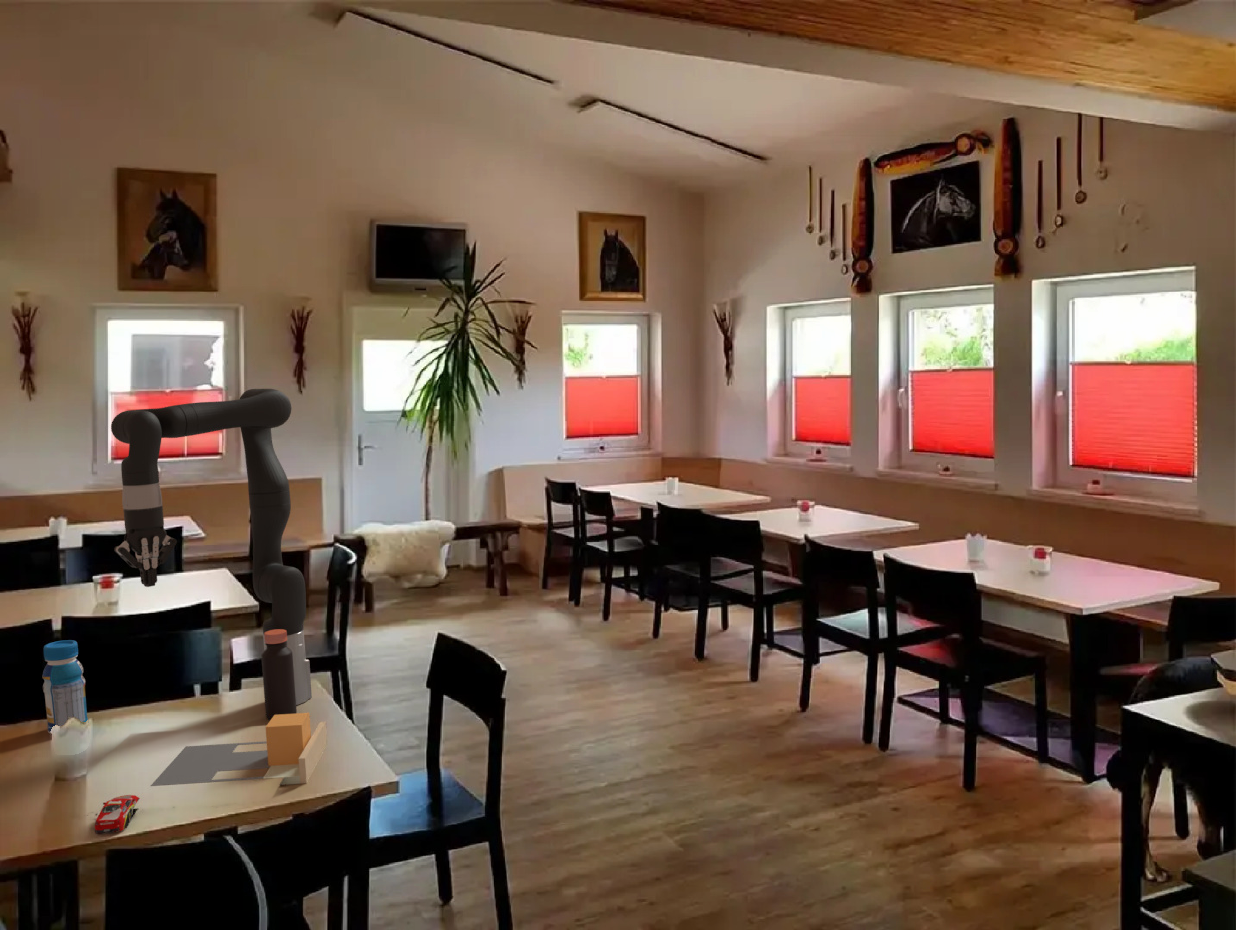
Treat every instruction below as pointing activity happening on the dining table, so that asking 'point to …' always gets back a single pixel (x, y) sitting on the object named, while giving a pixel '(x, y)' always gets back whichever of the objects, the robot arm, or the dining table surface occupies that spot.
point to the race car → (116, 814)
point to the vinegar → (278, 675)
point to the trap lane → (240, 762)
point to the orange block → (287, 738)
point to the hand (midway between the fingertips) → (149, 585)
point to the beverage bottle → (63, 683)
